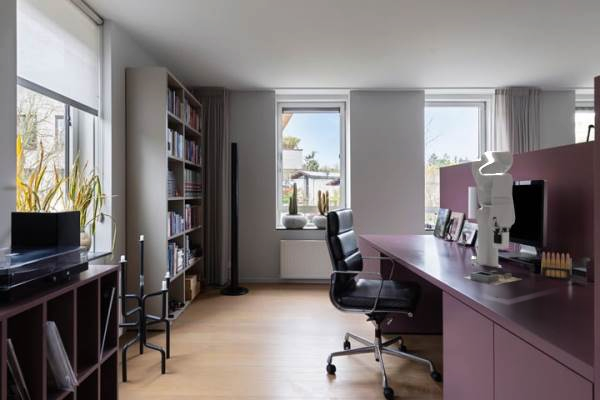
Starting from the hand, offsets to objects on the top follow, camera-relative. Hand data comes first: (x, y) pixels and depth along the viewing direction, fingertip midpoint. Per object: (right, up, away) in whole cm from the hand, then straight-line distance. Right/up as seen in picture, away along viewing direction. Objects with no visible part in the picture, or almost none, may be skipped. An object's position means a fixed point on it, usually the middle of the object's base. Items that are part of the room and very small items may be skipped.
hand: (500, 242), depth 146 cm
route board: (-6, -17, -3) cm, 18 cm away
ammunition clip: (+27, -17, +4) cm, 32 cm away
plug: (0, -2, 0) cm, 2 cm away
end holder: (-11, -15, -6) cm, 19 cm away
